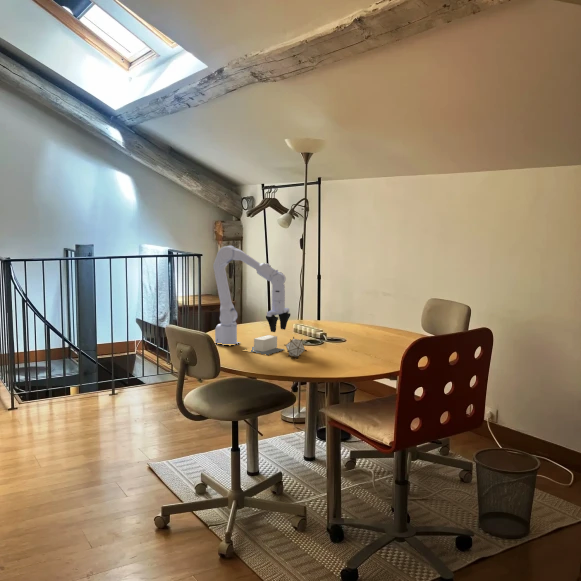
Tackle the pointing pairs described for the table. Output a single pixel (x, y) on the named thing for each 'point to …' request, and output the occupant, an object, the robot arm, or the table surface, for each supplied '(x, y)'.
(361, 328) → the table surface
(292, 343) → the game die
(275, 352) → the slate mat
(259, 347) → the tall block
